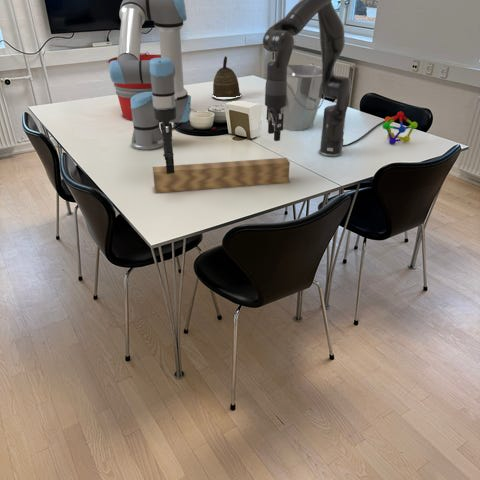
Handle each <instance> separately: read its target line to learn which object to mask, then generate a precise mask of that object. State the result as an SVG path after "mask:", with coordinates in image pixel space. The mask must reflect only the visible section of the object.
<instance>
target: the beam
mask: <svg viewBox="0 0 480 480" xmlns="http://www.w3.org/2000/svg"><path fill="white" fill-rule="evenodd" d="M290 165H291V161H290V160H288V158H287V157H277V158H261V159H248V160H235V161H233V160H232V161H220V162H203V163H190V164H188V163H187V164H177V165H176V164H174V172H175V173H170V174H167V170H166V165H162V166H161V165H160V166H152V176H153V184H154V185H153V186H154V193H155V194H159V193H160V194H161V193H171V192H172V193H173V192H185V191H197V190H209V189H210V190H211V189H223V188H235V187H246V186H247V187H248V186H261V185H272V184H274V185H275V184H286V183H289V180H290V179H289V178H290Z"/></svg>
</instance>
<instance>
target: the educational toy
mask: <svg viewBox="0 0 480 480" xmlns="http://www.w3.org/2000/svg"><path fill="white" fill-rule="evenodd" d="M397 119H399V124H400V125H399V127H398V126H393V125H391V124H392V123H394V122H395V121H396V120H397ZM403 120H404V121H405V122H407V123H408V124H409V125H407V126H404V123H403ZM384 121H385V122H384V123H382V129H383V130H386V132H387V138H388V142H389V145H395V144H396V143H397V142H402V141H403V142H404V143H409V142H410V140H411V138H410V136H411V134H412V132H413V131H414V130H415V129H417V127H418V122H417V121H411V120H410V119H409V118H408V117H406V116H405V113H404V112H403V111H401V110H400V111H398V112H397V114H396V115H394V116H391V117H390V116H386V117H385V118H384ZM392 129H393V130H397V131H398V132H396V134H395V133H394V132H392ZM408 129H409V131H408V133H407V134H406V135H404V136H401V134H403V133H405V132H406V130H408ZM399 135H400V136H399Z"/></svg>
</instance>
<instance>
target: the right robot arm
mask: <svg viewBox="0 0 480 480" xmlns="http://www.w3.org/2000/svg"><path fill="white" fill-rule="evenodd" d="M332 1H333V0H300V1H298V2H297V3H296V4H295V5H294V6H293V7H292V8H291V9H290V10H289V11H288V12H287V14H286V15H285V17H283V18H281V19H280V20H278V21H277V22H275V23H274V24H273V25H271V26H269V28H268V29H267V30H266V31H265V33H264V35H263V38H262V46H263V48H264V49H265V50H266V51H267V52H270V53H276V57H275V59H270V60H268V62H267V64H266V80H265V86H264V87H265V90H264V94H265V95H264V106H265V107H266V118H265V119H266V122H267V123H268V124H267V134H268V135H269V134H273V141H274V142H280V141H281V131H284V128H283V117H284V114H283V113H282V112H281V110H280V109H281V108H282V107H285V106H286V95H287V67H288V65H289V63H290V60H291V56H292V53H293V51H294V47H295V39H294V36H297V35H299V34H300V33H301V32H302V30H303V29H304V28H305V27H306V26H307V25H308V23H309V22H310V21H311V20H312V19H313V18H314V17H315V16H316V15H317V19H318V29H319V30H318V31H319V45H320V55H321V67H322V90H323V94H322V95H323V96H324V98H327V99H332V100H336V103H335V104H333V105H328V106H326V107H325V108H324V109H323V117H322V129H321V136H320V147H319V154H320V155H321V156H324V157H329V158H330V157H331V158H334V157H339V156H341V154H342V150H343V147H344V148H345V147H348V146H351V145H353V144H355V143H357V142H359V141H360V140H362V139H363V138H364V137H366V136H367V135H368V134H370V133H371V132H373V130H375V129H376V128H377V127H379V126H380V125H383V124H384V123H386V122H385V120H383V121H381V122H379V123H378V124H376V125H375V126H373V127H372V128H371V129H370V130H368V131H367V132H366V133H365V134H363V135H362V136H361V137H359V138H358V139H356V140H353V141H351V142H349V143H347V144H344V134H345V132H344V131H345V130H344V129H345V123H346V116H347V115H346V114H347V112H348V111H347V110H348V107H349V100H350V95H351V90H352V80H351V77H348V76H342V75H336V74H335V65H336V63H337V60H338V59H339V57H340V56H341V55H342V52H343V50H344V48H345V42H346V41H345V27H344V24H343V22H342V19H341V18H340V16H339V14H338V12H337V11H336V9H335V7H334V5H333V2H332Z"/></svg>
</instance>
